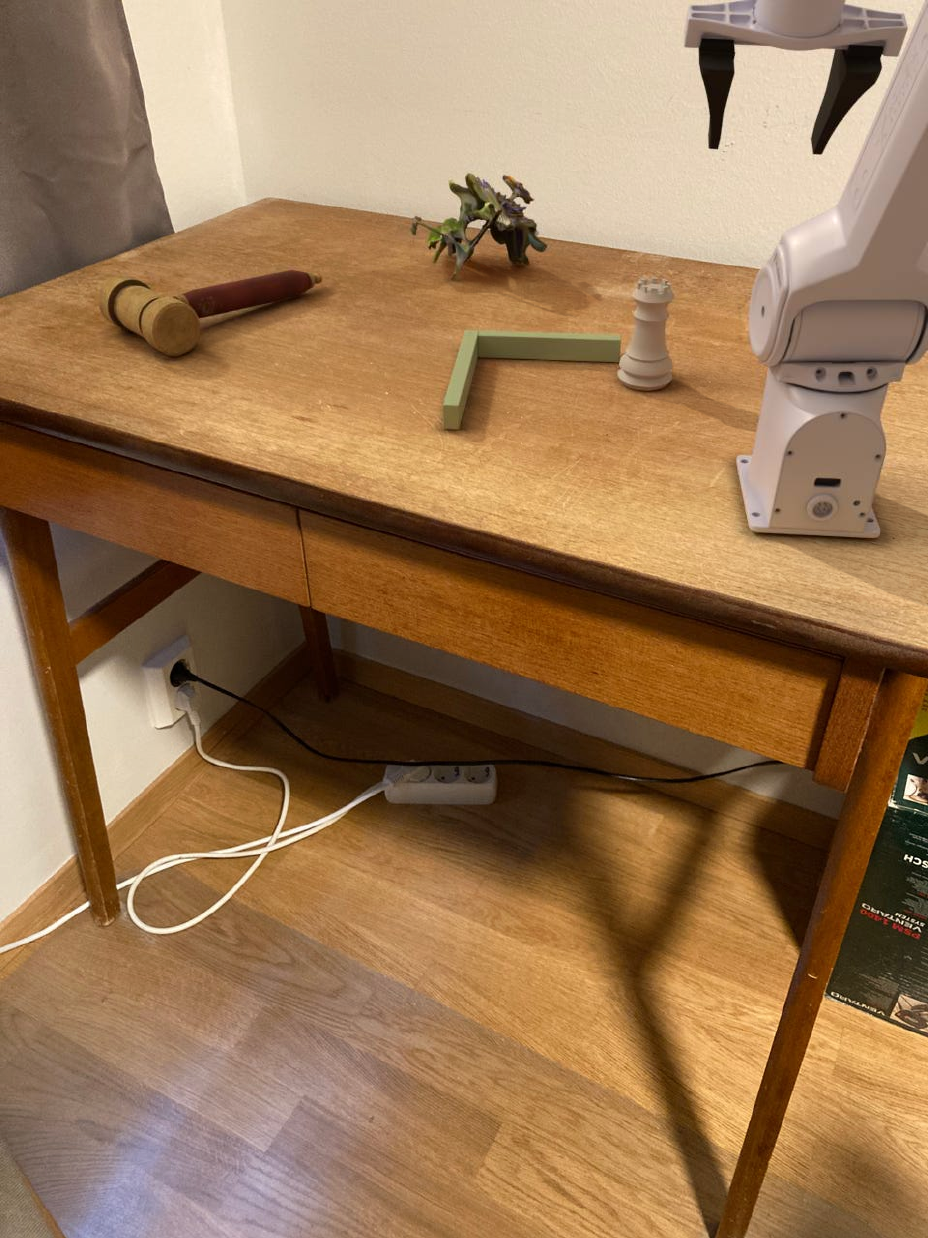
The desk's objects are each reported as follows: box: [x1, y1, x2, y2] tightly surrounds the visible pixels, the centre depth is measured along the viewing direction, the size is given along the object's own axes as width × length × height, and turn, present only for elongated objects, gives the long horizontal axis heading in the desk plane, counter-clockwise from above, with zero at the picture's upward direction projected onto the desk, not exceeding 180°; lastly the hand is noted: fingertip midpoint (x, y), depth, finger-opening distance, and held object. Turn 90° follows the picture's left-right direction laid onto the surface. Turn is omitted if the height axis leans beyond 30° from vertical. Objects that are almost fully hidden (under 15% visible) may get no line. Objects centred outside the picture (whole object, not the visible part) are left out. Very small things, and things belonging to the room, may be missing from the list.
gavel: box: [97, 269, 323, 357], centre depth 93 cm, size 21×5×10 cm
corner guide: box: [442, 329, 622, 431], centre depth 80 cm, size 15×13×2 cm
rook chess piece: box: [617, 276, 675, 392], centre depth 79 cm, size 4×4×8 cm
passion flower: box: [410, 172, 548, 281], centre depth 100 cm, size 11×11×12 cm
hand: (764, 144), depth 75 cm, fingers open, 7 cm apart
